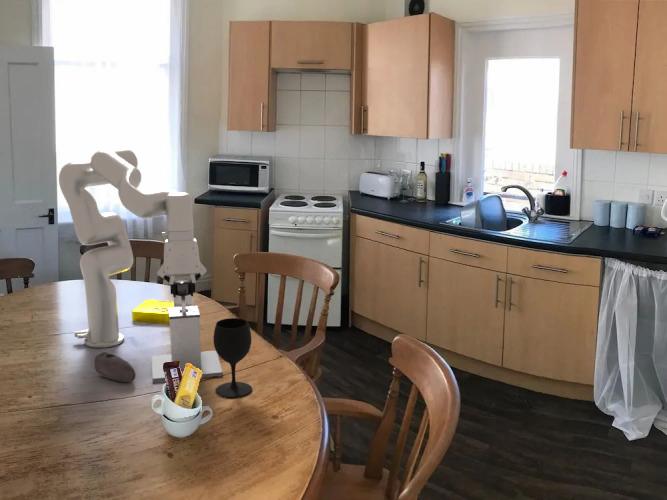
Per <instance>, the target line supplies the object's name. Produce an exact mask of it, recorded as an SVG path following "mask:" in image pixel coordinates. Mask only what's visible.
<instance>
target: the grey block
mask: <svg viewBox="0 0 667 500" xmlns="http://www.w3.org/2000/svg"><path fill="white" fill-rule="evenodd" d="M168 312H169V321H170V323H169V335H170V337H169V338H170V339H169V340H170V354H171V361H172V362H173V361H180V368H181V370H183V369H184V368H185V364H186V363H191V364H192V365H193V366H195V367H196V368H201V352H202V351H201V326H200V318H201V314H200V313H201V312H200V309H199V305H193V306H186V312H182V307H170V308H168Z"/></svg>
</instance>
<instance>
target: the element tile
mask: <svg viewBox="0 0 667 500" xmlns="http://www.w3.org/2000/svg"><path fill="white" fill-rule="evenodd" d="M170 307H174V304H173V300H167V299H166V300H163V299H146V300H144V301H143V302H142V303H139V305H137V306H136V307H134V308H133V309H132V310H131V317H132V318H131V319H132V322H134V323H143V324H144V323H145V324H158V325H159V324H160V325H165V324H166V325H168V324H169V325H170V321H169V312H168V308H170Z"/></svg>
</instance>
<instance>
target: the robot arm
mask: <svg viewBox="0 0 667 500" xmlns="http://www.w3.org/2000/svg"><path fill="white" fill-rule="evenodd" d="M61 167H62V168H61V169H60V171H59V174H58V183H59V188H60V191H61V193H62V195H63V197H64V199H65V201H66V203H67V205H68V208H69V213H70V216H71V220H72V223H73V227H74V230H75V231H74V232H75V233H76V236H77V239H78V241H79V243H80V244H82V245H83V246H93V245H94V246H95V245H98V244H102V243H103V244H104V243H107V246H102V247H95V248H91V249H90V250H87V251H85V252H84V253H83V254H82V256H80V259H79V268H80V270H81V274H82V277H83V283H84V290H85V302H86V315H87V326H88V327H87V329H84V330H75V331H74V338H77V339H84V340H83V341H84V345H85V346H86V347H90V348H94V349H95V348H96V349H97V348H99V349H100V348H101V349H102V348H109V347H114V346H115V347H116V346H117V345H119V344H122V343H123V342H124V340H125V336H124V334H123V333H120V330H119V329H120V328H119V327H120V326H119V315H118V301H117V289H116V286H115V284H114V282H113V281H111V279H110V276H113V275H116V274H121V273H124V272H127V271H128V270H130V269H131V268H132V267H133V264H134V254H133V250H132V245H131V242H130V239H129V235H128V231H127V228H126V225H125V222H124V220H123V219H122V217H121V216H120V215H119V214H117V213H116V212H112V211H111V212H109V211H108V212H107V211H106V212H102V213H101V212H100V210H99V207H98V204H97V201H96V199H95V197H94V196H93V195H92V194H91V193H90V191H88V190H86V188H87V187H97V186H102V185H103V186H104V185H109V184H110V185H111V186H113V187H114V188H115V189H117V193H118V197H119V200H120V203H121V204H122V206H123V207H124V208H125V209H126V210H128V211H129V212H131V214H133V215H135V216H137V217H139V218H141V219H151V218H156V217H162V216H165V218H166V231H163V232H161V236H162V238H166V239H165V241H164V245H163V263H162V264H161V266H160V268H159V270H157V271H156V272H157V273H156V274H157V276H158V277H160V278H162V279H164V280H165V281H166V282H167V283H168V284H169V286H170V295H172V297H173V299H174V298H175V297H176V287H175V282H176V281H175V277H176V276H185V275H186V276H188V275H189V276H190V280H189V281H190V292H191V294H190V295H191V296H192V297H194V293H196V283H197V281H199V279H200V278H201V277H202V276H204V274H206V273H207V268H206V267H205V266H204V265H203V264H202V262H201V261H200V253H199V245H198V240H197V239H196V238H195V237H194V216H193V215H194V212H193V211H194V210H193V197H192V195H191V194H190V193H188V192H184V191H183V192H182V191H181V192H178V191H176V190H174V189H170V188H165V189H157V190H150V191H144V192H143V191H140V190H139V189H137V188H138V187H139V186H140V184H141V181H142V173H141V171H140V169H138V158H137V156H136V154H135V153H134V151H132V150H131V149H129V148H126V147H117V148H116V147H115V148H108V149H107V148H105V149H101V150H98V151H96V152H94V153H93V155H92V156H91V157H90V159H82V160H81V159H80V160H75V161H71V162H68V163H66V164H65V165H63V166H61Z"/></svg>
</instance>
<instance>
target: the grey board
mask: <svg viewBox="0 0 667 500" xmlns="http://www.w3.org/2000/svg"><path fill="white" fill-rule="evenodd" d="M165 362H171V353H170V354H159V355H151V368H152V383H162V382H163V383H164V382H166V381H165V375H164V372H163V363H165ZM199 369H200V370H202V372H203V374H202V377H207V378H212V377H211V376H218V377H223V369H222V366H221V362H220V358H219V355H218V354H217V352H216V350H208V351H205V350H204V351H201V368H199ZM181 371H182V373H183V371H184V369H183V370H181Z"/></svg>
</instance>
